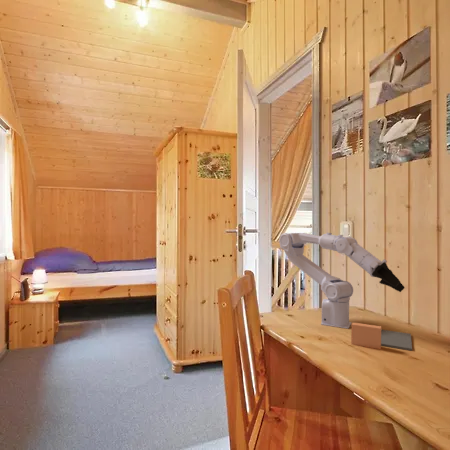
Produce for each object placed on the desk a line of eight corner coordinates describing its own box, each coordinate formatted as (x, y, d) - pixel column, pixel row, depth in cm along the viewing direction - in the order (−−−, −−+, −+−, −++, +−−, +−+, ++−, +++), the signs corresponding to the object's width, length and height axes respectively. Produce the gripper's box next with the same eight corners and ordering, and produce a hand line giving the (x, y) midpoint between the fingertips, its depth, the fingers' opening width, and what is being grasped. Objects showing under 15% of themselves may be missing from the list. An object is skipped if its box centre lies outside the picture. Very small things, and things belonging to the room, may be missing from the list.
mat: (359, 342, 101) (359, 340, 101) (364, 328, 115) (364, 327, 115) (412, 350, 94) (412, 348, 94) (410, 335, 109) (410, 333, 109)
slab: (351, 344, 99) (351, 324, 99) (352, 341, 101) (352, 322, 101) (380, 349, 95) (380, 328, 95) (381, 346, 98) (381, 326, 98)
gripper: (368, 244, 107) (405, 271, 98) (379, 258, 117) (412, 283, 108) (353, 260, 108) (388, 288, 99) (365, 272, 118) (397, 298, 109)
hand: (400, 287), depth 104 cm, fingers open, 7 cm apart
